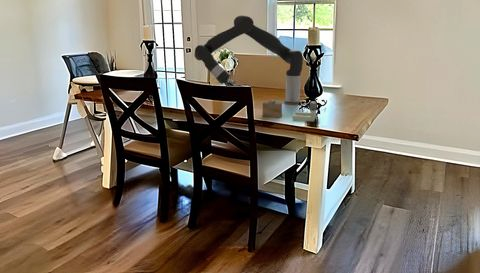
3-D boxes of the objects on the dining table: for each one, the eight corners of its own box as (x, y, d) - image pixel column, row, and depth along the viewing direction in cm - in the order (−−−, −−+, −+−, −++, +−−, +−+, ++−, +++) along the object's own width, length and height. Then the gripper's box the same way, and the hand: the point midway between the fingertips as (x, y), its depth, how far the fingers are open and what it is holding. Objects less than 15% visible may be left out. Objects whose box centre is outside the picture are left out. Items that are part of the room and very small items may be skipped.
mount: (295, 115, 236) (295, 105, 234) (315, 117, 232) (316, 106, 231) (292, 120, 227) (293, 109, 225) (313, 121, 224) (314, 110, 222)
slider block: (264, 115, 238) (264, 99, 236) (281, 116, 236) (282, 100, 233) (262, 117, 234) (262, 101, 231) (279, 118, 231) (280, 102, 228)
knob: (310, 108, 227) (310, 101, 225) (316, 109, 226) (317, 101, 224) (309, 110, 223) (309, 102, 222) (315, 110, 222) (316, 102, 221)
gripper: (220, 71, 229) (242, 94, 229) (228, 67, 241) (249, 89, 241) (212, 80, 232) (233, 102, 232) (220, 76, 244) (240, 98, 244)
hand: (241, 96), depth 237 cm, fingers closed
